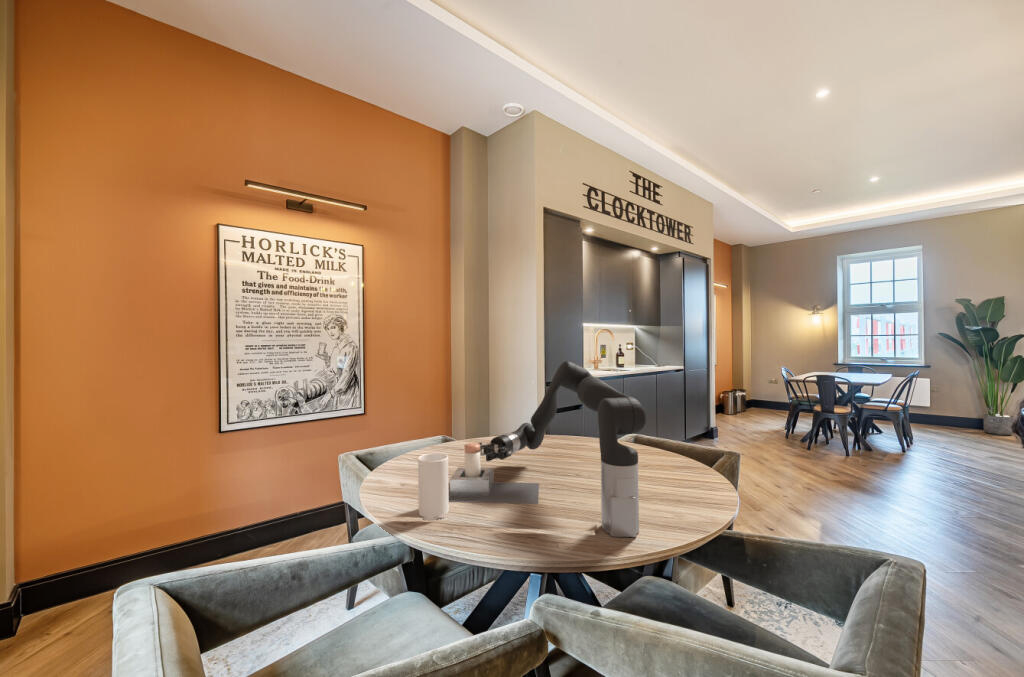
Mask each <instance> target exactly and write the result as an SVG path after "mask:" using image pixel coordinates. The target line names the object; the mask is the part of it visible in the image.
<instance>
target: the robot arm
mask: <svg viewBox="0 0 1024 677" xmlns="http://www.w3.org/2000/svg"><path fill="white" fill-rule="evenodd" d="M561 387H562V388H565V389H567V390H569V391H572V392H574V393H576V394H577V398H578V399H579V401H580V402H581V403H582V404H583V405H584V406H585V407H586V408H587V409H588V410H591V411H593V412H596V413H597V421H598V422H597V423H598V436H599V437H598V439H599V450H600V451H599V452H600V486H601V487H600V494H601V495H600V496H601V497H600V498H601V502H600V504H601V505H600V510H601V512H600V513H601V529H602V530H603V531H604V532H605V533H607V534H609V535H610V537H617V538H618V537H621V538H623V537H624V538H637V535H638V534H639V532H640V504H639V502H640V501H639V500H640V499H639V498H640V496H639V491H640V490H639V453H638V450H636V449H635V448H634V447H631V446H627V445H625V444H622V443H620V442H619V440H618V436H617V435H633V434H638V433H640V432H641V431H643V430H644V428H645V426H646V423H647V415H646V411H645V408H644V406H643V405H642V403H641V402H640V401H639V400H638V399H636V398H635V397H633V396H630V395H627V394H624V393H622V392H620V391H618V390H617V389H615V388H614V387H613V386H610V385H609V384H607V383H606V382H605V381H603V380H602V379H600V378H598V377H596V376H593V374H591V372H589V370H588V369H586V368H584V367H582V366H580V365H578V364H577V363H574V362H571V361H568V360H565V361H563V362H562V363H561V364H560V365H559V367H558V368H557V370H556V372H555V373H554V376H553V377H552V380H551V381H550V383H549V386H548V388H547V389H546V392H545V394H544V397H543V398H542V400H541V403H539V406H538V407H537V408H536V410H535V411H534V412H533V414H532V416H531V417H530V422H524V423H522V424H521V425H519V427H518V428H517V429H515V430H514V431H511V432H507V433H504V434H501V435H498V436H494V437H493V438H492V439H491V440H490V442H488V443H485V444H483V442H479V443H477V444H480V457H482V456H485V461H486V462H490V461H492V460H501V461H503V460H505V459H507V458H509V457H511V456H512V455H513V454H515V453H516V452H518V451H521V450H523V449H525V448H528V449H530V450H533V451H534V450H536V449H538V448H539V447H541V445H542V443H543V441H544V438H545V434H546V432H547V428H548V427H549V426H550V425H551V423H552V421H553V420H554V418H555V416H556V415H557V408H558V407H557V406H558V405H557V404H558V402H557V396H558V394H557V393H558V391H559V389H560V388H561ZM482 451H483V452H482Z"/></svg>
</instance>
